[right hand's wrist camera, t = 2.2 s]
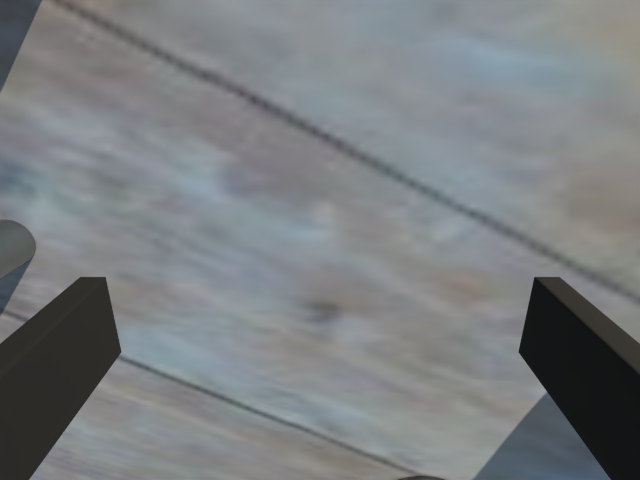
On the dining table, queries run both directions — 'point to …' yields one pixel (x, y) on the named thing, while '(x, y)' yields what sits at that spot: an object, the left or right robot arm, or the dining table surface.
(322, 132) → the dining table surface
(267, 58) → the dining table surface
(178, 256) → the dining table surface
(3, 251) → the jar
